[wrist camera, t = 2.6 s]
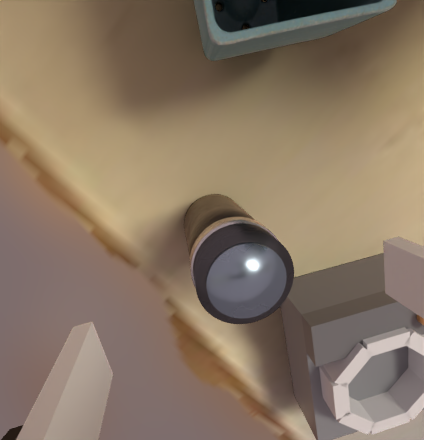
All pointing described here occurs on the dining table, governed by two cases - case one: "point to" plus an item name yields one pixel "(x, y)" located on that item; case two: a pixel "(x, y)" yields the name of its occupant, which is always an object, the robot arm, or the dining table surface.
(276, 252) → the lens
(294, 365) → the camera body
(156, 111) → the dining table surface
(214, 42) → the flower pot
